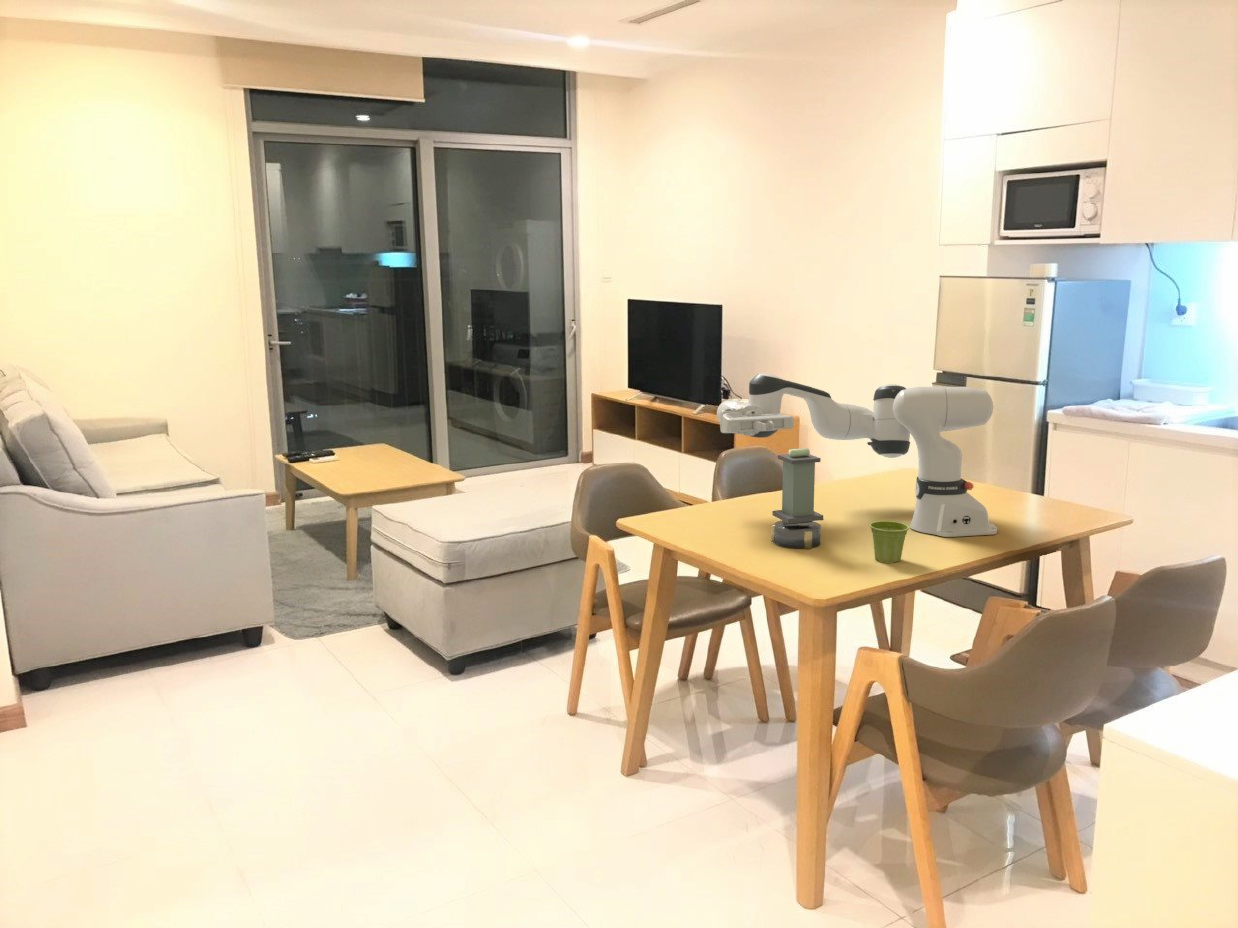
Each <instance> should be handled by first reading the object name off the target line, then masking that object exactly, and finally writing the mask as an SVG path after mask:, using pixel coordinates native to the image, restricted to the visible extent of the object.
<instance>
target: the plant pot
mask: <svg viewBox="0 0 1238 928" xmlns="http://www.w3.org/2000/svg"><path fill="white" fill-rule="evenodd" d="M869 528H870V529H871V530H870V531H871V533H872V539H873V542H872V543H873V549H874V553H873V554H874V559H875V560H876V561H879V562H881V563H887V564H893V563H896V562H900V561H901V559H902V555H903V550H904V544H905V538H906V536H907V533H908V531H909V530H910V525H909V524H907V523H903V522H901V521H900V522H899V521H895V520H894V521H893V520H876V521H872V522H871V523H869Z"/></svg>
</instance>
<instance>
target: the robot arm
mask: <svg viewBox="0 0 1238 928" xmlns="http://www.w3.org/2000/svg"><path fill="white" fill-rule="evenodd" d="M748 393H749V396H748V403H746V402H744V401H740V400H732V399H730V400H724V401H723V402H721V403H720V404H719V406H718V407H717V410H716V419H717V421H718V423H719V428H720V433H722V434H734V435H735V434H736V435H741V436H746V437H753V438H760V439H761V438H769V437H771V436H772V435H774V434H775V433H777V432H778V431H779V430H781V431H782V430H792V429H793V427H794V416H792V415H789V414H783V413H781V409H782V402H783V401H782V399H783V396H784V395H785V394H786V395H790V396H793V397H797V398H800V399H802V400H804V401H805V402H806V405H807V408H808V410H809V415H810V420H811V424H812V426H813V427H814V429H815V430H816V431H815V432H816V433H818V434H819V436H821V437H823V438H825V439H829V440H830V439H831V440H837V441H839V440H841V441H851V440H852V441H855V440H861V439H869V440H870V441H867V442H866V444H867V446H870V447H871V449H872V450H873V451H874V452H875V453H876V454H877V455H879V456H882V457H884V458H889V459H893V458H895V459H896V458H899V457H901V456H904V455H906V454H907V453H908V452H909V450H910V446H911V441H910V437H911V436H912V438H913V440H914V442H915V445H916V448H917V456H918V458H917V459H918V475H917V476H916V482H915V493H914V494H915V497H916V499H915V500H916V501H915V506H914V507H915V508H914V510H913V511H914V512H913V516H912V518H911V519H912V520H911V522H910V525H909V529H912V530H913V531H917V532H920V533H923V534H929V535H935V536H938V537H939V536H940V537H944V538H952V537H970V536H972V537H973V536H985V535H988V536H989V535H997V533H998V528H997V526H996V525H995V524H994V523H992V522H990V518H989V512H988V509H987V508H986V507H985V506H984V505H983V504H982V503H981V502H980V501H979V500H978V499H976V498H975V497H974V496H972V495H971V494H970V493H969V492H968V491H973V489H974V487H975V486H974V484H973V483H972V482H970V481H967V480H965V479H964V478H962V461H963V460H962V459H963V454H962V453H963V452H962V451H961V448H960V447H959V446H958V445H957V444H955V443H954V442H952V441H950V440H948V439H946V438H944V437H942V435H941V432H950V431H955V430H963V429H968V428H975V427H979V426H984V425H986V424H988V422H989V421H990V420H991V417H992V416H993V413H994V402H993V399H992V396H991V395H990V394H989V392H988V391H987V390H985V389H982V388H977V387H971V386H916V387H911V388H910V387H909V388H906V387H905V386H902V385H899V384H896V383H895V384H894V383H891V384H885V385H883V386H879V387H878V388H877V389H876V390H875V391H874V394H873V399H872V400H873V401H874V402H873V408H872V409H873V410H871V409H869V408H868V407H864V406H861V405H856V404H855V405H854V404H849V403H840V402H837V401H836V400H833V398H832V396H831V394H830V393H829V392H827V391H825V390H823V389H819V388H815V387H812V386H810V385H805V384H801V383H798V382H794V381H790V380H786V379H783V378H781V377H779V376H777V375H775V374H771V373H758V374H756V375H755V376H754V377H753V378H751V380H750V381H749V383H748Z"/></svg>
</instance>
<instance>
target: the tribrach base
mask: <svg viewBox="0 0 1238 928" xmlns="http://www.w3.org/2000/svg"><path fill="white" fill-rule="evenodd" d="M821 527H822V525H821V524H820V523H818V521H817V522H816V521H812V522H809V523H799V524H789V525H783V523H782V520H779V521H776V522H775V523H772V524H771V531H770V534H771V535H770V538H771V539H770V542H771V543H772V542H773V544H774V545H775V546H777V547H780V548H785V549H789V550H790V549H792V550H812V549H813V548H818V547H819V546H820V545H821V534H822V528H821Z"/></svg>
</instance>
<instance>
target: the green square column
mask: <svg viewBox="0 0 1238 928" xmlns="http://www.w3.org/2000/svg"><path fill="white" fill-rule="evenodd" d="M810 452H811V450H810V449H809V447H807V448H805V447H804V448H793V449H789V450H788V453H787V454H785V453H783V454H778V455H777V459H778V460H781V461H782V491H781V493H782V494H781V495H782V496H781V497H782V498H781V509H778V510H776V509H775V510H772V512H771V513H772V517H775V518H777V519H780V521H782V523H783V525H789V524H799V523H809V522H812V521H813V522H816V521H817V522H818V521H823V520H824V515H823V514H821V513H819V512H816V511H815V481H816V477H815V475H816V474H815V473H816V463H821V457H818V456H816V455H814V454H811V453H810Z"/></svg>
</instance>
